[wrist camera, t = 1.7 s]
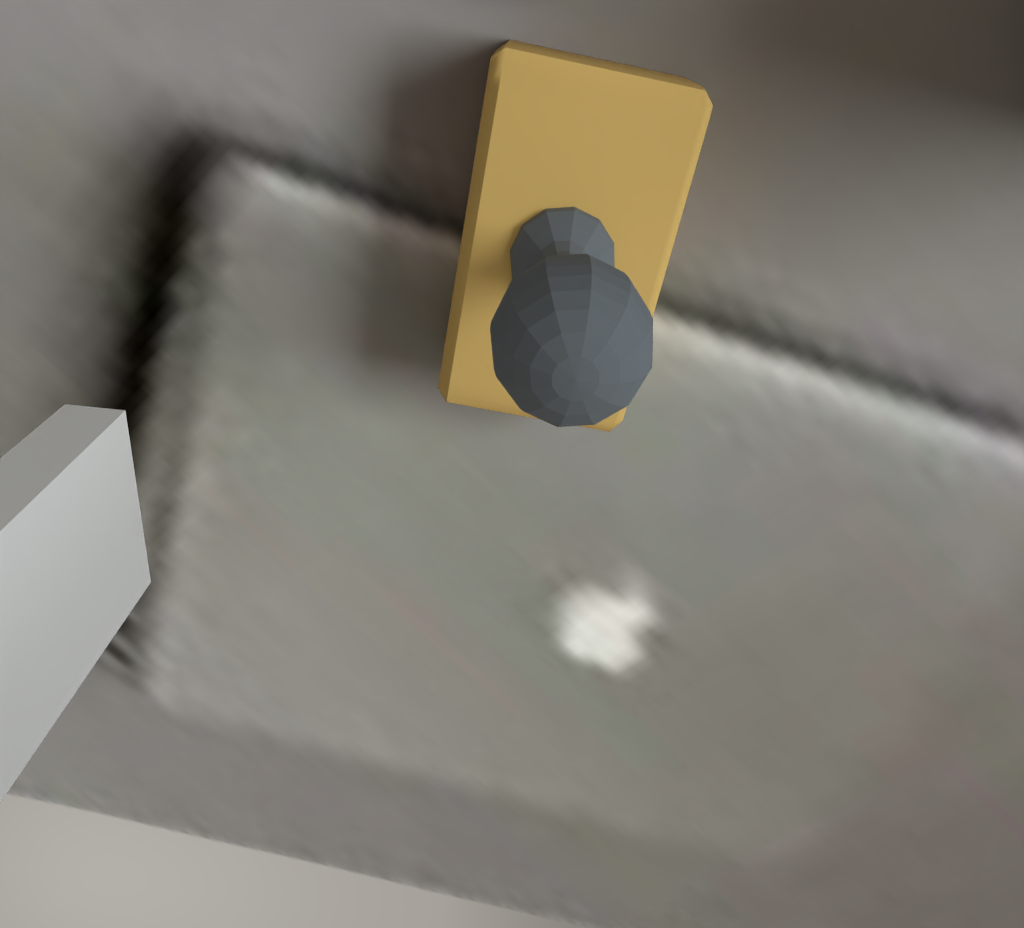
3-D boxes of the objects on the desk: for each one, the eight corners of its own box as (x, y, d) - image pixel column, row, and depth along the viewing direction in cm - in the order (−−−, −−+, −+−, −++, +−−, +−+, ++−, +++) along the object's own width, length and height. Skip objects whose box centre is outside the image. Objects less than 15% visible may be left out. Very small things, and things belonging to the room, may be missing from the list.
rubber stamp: (498, 37, 23) (469, 65, 13) (694, 79, 24) (821, 140, 13) (446, 357, 28) (395, 566, 18) (610, 387, 29) (654, 610, 18)
